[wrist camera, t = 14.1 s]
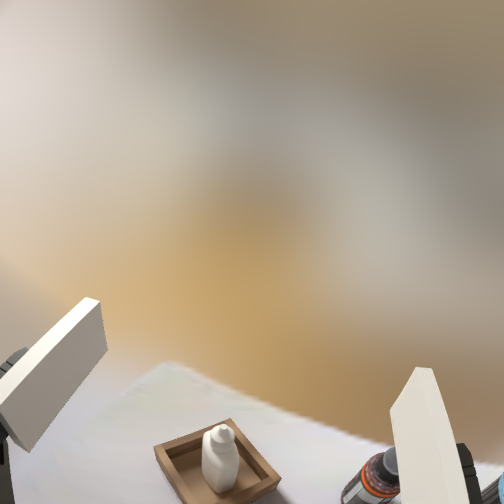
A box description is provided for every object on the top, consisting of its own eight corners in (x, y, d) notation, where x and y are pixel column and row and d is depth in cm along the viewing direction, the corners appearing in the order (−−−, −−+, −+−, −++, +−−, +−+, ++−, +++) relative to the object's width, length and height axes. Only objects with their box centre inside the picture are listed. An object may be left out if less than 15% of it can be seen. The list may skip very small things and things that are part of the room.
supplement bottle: (359, 474, 33) (396, 430, 29) (388, 499, 29) (432, 458, 24) (329, 498, 30) (364, 459, 25) (359, 526, 26) (404, 492, 21)
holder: (275, 488, 31) (281, 478, 30) (198, 526, 25) (198, 519, 24) (228, 431, 39) (230, 418, 38) (156, 458, 33) (153, 446, 31)
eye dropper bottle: (195, 490, 29) (195, 445, 24) (203, 455, 34) (206, 401, 30) (232, 496, 29) (243, 453, 24) (237, 460, 34) (248, 408, 30)
